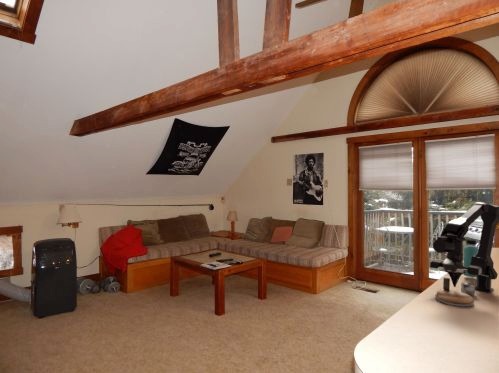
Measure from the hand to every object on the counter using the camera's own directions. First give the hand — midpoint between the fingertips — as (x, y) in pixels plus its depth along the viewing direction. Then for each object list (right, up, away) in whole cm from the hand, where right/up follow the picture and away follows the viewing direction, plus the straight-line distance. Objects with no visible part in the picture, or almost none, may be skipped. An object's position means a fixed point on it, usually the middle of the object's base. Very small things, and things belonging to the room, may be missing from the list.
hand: (454, 286), depth 149 cm
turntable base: (-3, -4, -5) cm, 8 cm away
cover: (+7, -4, +2) cm, 9 cm away
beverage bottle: (+24, -3, +26) cm, 35 cm away
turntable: (-3, -3, -4) cm, 6 cm away
